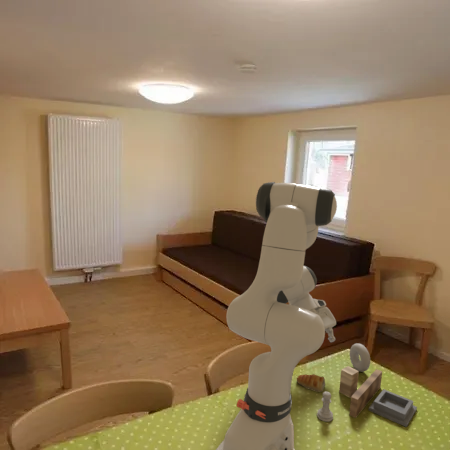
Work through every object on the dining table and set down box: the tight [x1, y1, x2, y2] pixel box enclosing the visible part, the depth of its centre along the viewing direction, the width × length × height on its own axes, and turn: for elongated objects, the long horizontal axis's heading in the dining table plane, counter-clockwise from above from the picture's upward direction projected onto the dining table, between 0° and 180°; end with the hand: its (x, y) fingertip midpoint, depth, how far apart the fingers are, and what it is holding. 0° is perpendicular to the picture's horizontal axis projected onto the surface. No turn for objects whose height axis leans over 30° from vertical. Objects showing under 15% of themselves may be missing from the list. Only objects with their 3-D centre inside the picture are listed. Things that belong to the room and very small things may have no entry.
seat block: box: [368, 389, 418, 428], centre depth 116 cm, size 11×11×3 cm
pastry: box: [296, 373, 326, 393], centre depth 128 cm, size 9×7×4 cm
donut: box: [349, 342, 371, 373], centre depth 139 cm, size 10×4×10 cm, turn 16°
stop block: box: [338, 365, 360, 399], centre depth 124 cm, size 4×4×8 cm
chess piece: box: [316, 391, 334, 423], centre depth 111 cm, size 5×5×8 cm
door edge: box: [348, 369, 383, 419], centre depth 121 cm, size 22×2×6 cm, turn 139°
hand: (325, 344), depth 131 cm, fingers open, 8 cm apart
